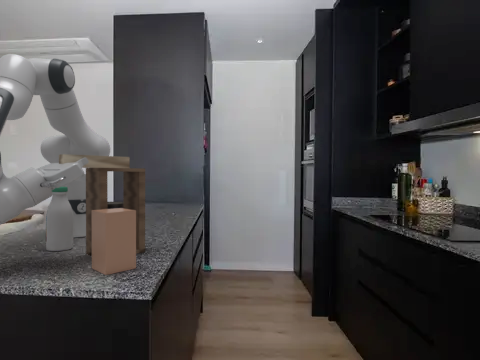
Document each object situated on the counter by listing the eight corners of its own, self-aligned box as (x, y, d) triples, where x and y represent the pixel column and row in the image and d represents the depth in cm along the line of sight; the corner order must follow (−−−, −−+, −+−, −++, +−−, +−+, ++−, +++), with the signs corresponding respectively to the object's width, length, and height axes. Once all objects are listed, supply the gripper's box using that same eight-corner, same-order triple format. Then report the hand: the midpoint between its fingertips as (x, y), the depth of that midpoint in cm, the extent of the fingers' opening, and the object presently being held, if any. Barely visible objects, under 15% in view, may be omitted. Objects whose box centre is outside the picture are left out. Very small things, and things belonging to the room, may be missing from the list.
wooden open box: (86, 254, 101) (85, 167, 100) (129, 246, 111) (129, 168, 110) (100, 260, 94) (100, 167, 93) (145, 252, 104) (145, 168, 103)
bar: (58, 167, 92) (58, 154, 92) (124, 168, 106) (124, 157, 105) (63, 167, 89) (63, 154, 89) (129, 168, 103) (129, 156, 103)
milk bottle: (78, 247, 109) (78, 186, 109) (57, 252, 102) (56, 187, 102) (62, 245, 113) (62, 186, 112) (40, 250, 106) (40, 186, 105)
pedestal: (91, 268, 86) (91, 210, 86) (121, 262, 92) (121, 208, 92) (105, 275, 81) (105, 213, 80) (136, 268, 86) (136, 210, 86)
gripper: (41, 175, 78) (93, 148, 86) (17, 174, 92) (63, 151, 100) (56, 198, 80) (105, 169, 89) (30, 193, 94) (75, 169, 103)
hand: (83, 159), depth 95 cm, fingers closed on bar, 3 cm apart
